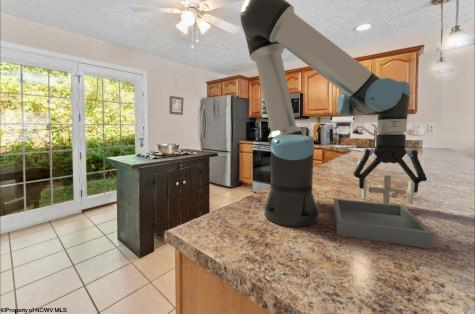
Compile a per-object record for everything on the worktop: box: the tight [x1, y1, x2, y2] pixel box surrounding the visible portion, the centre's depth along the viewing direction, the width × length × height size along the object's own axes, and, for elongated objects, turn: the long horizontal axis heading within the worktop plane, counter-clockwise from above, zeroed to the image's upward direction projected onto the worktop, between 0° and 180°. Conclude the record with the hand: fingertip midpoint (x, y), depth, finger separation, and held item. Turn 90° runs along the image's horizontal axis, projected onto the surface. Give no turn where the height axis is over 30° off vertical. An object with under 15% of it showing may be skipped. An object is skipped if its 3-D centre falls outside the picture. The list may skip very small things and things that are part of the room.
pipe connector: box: [368, 174, 407, 204], centre depth 70 cm, size 10×10×10 cm
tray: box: [333, 198, 434, 250], centre depth 56 cm, size 18×18×3 cm
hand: (386, 200), depth 70 cm, fingers open, 12 cm apart
